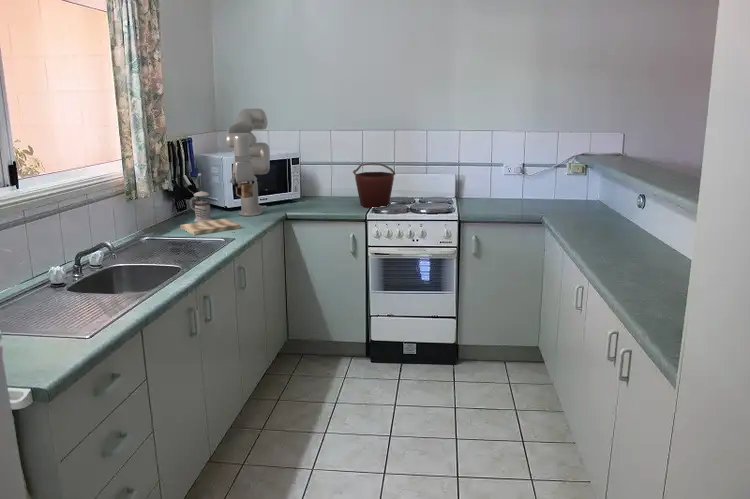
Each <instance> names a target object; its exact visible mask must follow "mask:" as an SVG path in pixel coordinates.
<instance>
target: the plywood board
mask: <svg viewBox="0 0 750 499" xmlns="http://www.w3.org/2000/svg"><path fill="white" fill-rule="evenodd" d="M179 227H180V230H182V229H183V230H182V231H184V230H185V232H186V231H187V233H188V232H189V234H190V233H191V234H190V235H192V234H193V235H192V236H199V234H200V235H206V234H213V233H218V232H225V231H226V232H227V231H231V230H237V229H241V224H240V223H237V222H235V221H232V220H230V219H227V218H219V219H213V220H211V221H204V222H192V223H191V222H190V223H185V224H179Z"/></svg>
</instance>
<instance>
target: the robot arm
mask: <svg viewBox="0 0 750 499" xmlns="http://www.w3.org/2000/svg"><path fill="white" fill-rule="evenodd" d="M267 127H268V117H267V114H266V112H265V110H263V109H262V108H243V109H241V110H240V111H239V112H238V116H237V117H236V120H235V123H233V124H232V125H230V126H228V128H227V130H226V135H225V144H226V146H227V147H228V148H231V149H233V151H234V152H233V153H234V161H233V162H232V163H233V164H232V178H231V179H230V181H229V182H230V183H231V184H232V185H233V186H234V187H235V188H236V187H237V194H238V195H240V196H241V188H240V184H241V183H243V182H245V183H249V184H252V185H253V197H248V198H243V197H240V205H241V206H240V207H241V209H240V210H241V211H239V212H238V215H239V216H241V217H242V216H243V217H253V216H254V217H256V216H259V215H262V213H263V210H267V209H268V207H267V205H260V204H259V202H260V201H259V188H258V187H259V186H258V181H257V180H258V178H257V177H256V175H267V174H268V173H269V172H270V169H271V168H270V162H271V161H270V160H271V159H270V158H271V154H270V153H271V152H270V150H271V149H270V146H269V145H268V143H266V142H257V137H256V135H255V134H254V133H252V132H253V131H254V130H255V131H257V130H258V131H260V130H261V131H262V130H266V129H267Z"/></svg>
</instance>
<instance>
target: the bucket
mask: <svg viewBox="0 0 750 499" xmlns="http://www.w3.org/2000/svg"><path fill="white" fill-rule="evenodd" d="M369 165H376V166H382V167H384V168H386V169H387V170H390V171H391V172H387V171H386V172H385V171H365V172H359V173H357V172H358V171H359V170H360V169H361V168H362V167H363V166H369ZM352 173H353V175H354V178H355V184H356V188H357V189H356V190H357V193H358V200H359V203H360V206H361V207H362V206H363V208H364V209H373V208H372V207H380V206H387V205H388V204H389V205H390V201H391V196H392V190H393V185H394V180H395V176H396V172H395V170H393V168H392V167H390V166H388V165H385V164H383V163H380V162H379V163H378V162H370V163H369V162H368V163H362V164H360V165H359V166H358V167H357V168H356V169H353V171H352ZM389 205H388V206H389Z"/></svg>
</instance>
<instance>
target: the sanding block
mask: <svg viewBox="0 0 750 499" xmlns="http://www.w3.org/2000/svg"><path fill="white" fill-rule="evenodd" d="M240 188H241V196H240V195H238V194H237V187H236V186H235V194H236V196H238V197H239V198H241V197H243V198H248V197H253V185H252V184H249V183H245V182H243V183H241V184H240Z"/></svg>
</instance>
